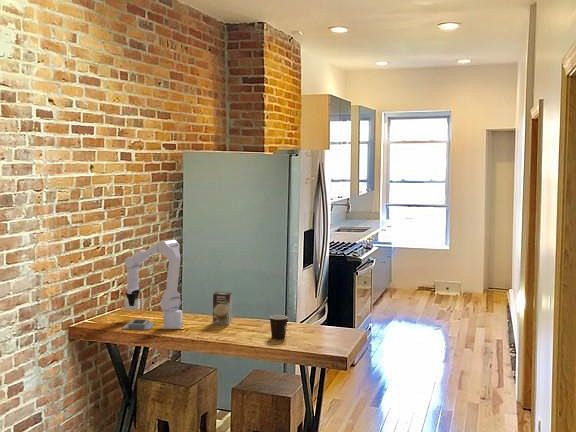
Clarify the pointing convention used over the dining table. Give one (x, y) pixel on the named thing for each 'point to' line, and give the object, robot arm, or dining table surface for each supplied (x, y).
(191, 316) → the dining table surface
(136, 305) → the steel block
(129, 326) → the slot holder
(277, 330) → the coffee mug
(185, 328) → the dining table surface
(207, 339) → the dining table surface
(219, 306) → the coffee box
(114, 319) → the dining table surface
